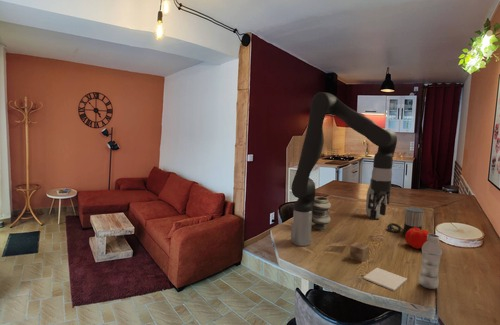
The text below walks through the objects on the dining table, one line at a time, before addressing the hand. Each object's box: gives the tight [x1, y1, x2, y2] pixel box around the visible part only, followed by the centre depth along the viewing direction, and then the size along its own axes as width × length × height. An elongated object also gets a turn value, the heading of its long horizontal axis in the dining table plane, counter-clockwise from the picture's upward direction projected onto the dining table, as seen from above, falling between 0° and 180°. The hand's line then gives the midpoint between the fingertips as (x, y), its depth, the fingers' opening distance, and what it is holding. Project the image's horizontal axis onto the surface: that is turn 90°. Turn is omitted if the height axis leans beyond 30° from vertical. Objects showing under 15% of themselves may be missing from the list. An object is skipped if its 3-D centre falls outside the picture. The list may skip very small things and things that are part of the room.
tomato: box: [404, 227, 430, 250], centre depth 148 cm, size 11×12×9 cm
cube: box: [349, 241, 370, 263], centre depth 134 cm, size 6×6×6 cm
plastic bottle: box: [418, 233, 443, 290], centre depth 110 cm, size 6×7×20 cm
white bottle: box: [365, 179, 382, 220], centre depth 193 cm, size 10×10×28 cm
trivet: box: [362, 267, 408, 292], centre depth 116 cm, size 12×12×1 cm
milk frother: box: [386, 206, 425, 236], centre depth 167 cm, size 14×16×15 cm
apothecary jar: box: [311, 195, 332, 232], centre depth 173 cm, size 12×12×18 cm
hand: (377, 216), depth 124 cm, fingers open, 8 cm apart
